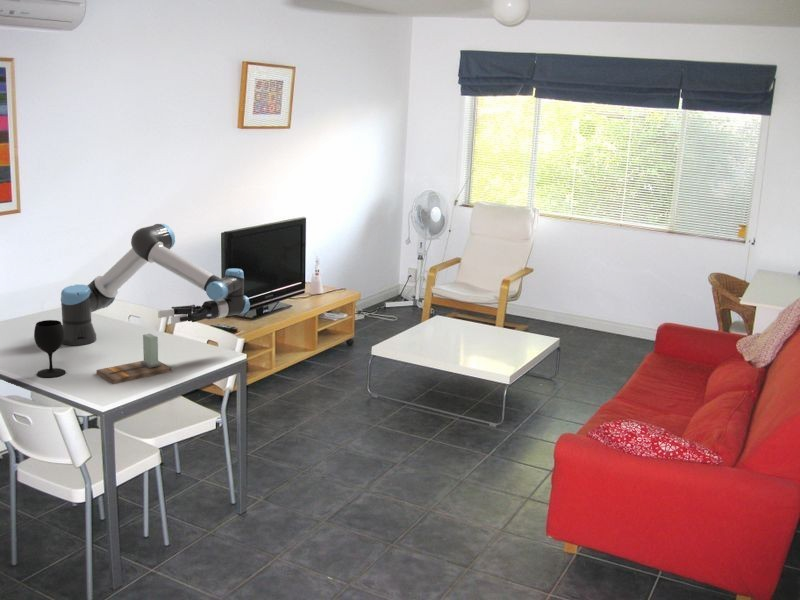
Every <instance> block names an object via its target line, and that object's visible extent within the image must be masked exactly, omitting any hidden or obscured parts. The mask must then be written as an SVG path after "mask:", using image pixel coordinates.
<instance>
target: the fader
mask: <svg viewBox="0 0 800 600" xmlns="http://www.w3.org/2000/svg"><path fill="white" fill-rule="evenodd" d="M158 340H159V339H158V336H156V335H154V334H151V333H147V334H145V333H144V334H142V346H143V347H142V349H143V350H142V351H143V360H140V361H141V364H143V365H145V366H147V367H149V368H152V367H157V366H161V363H159V362H158V361H159V342H158Z"/></svg>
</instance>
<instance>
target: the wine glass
mask: <svg viewBox="0 0 800 600" xmlns="http://www.w3.org/2000/svg"><path fill="white" fill-rule="evenodd" d="M33 331H34V332H33V333H34V334H33V337H34V338H33V339H34V342H35V344H36V346H37V347H38V348H39V349H40V350H41V351H43V352H44V353H45V354H47V355H48V361H49V364H48V365H49V368H44V369H42V370H41V369H40V370H39V371H37V373H36V376H37V377H38V378H42V379H52V378H53V379H55V378H59V377H62V376H64V375H65V374H66V373H67V371H66V370H65V369H64V368H57V367H54V366H53V354H54V353H55V352H56V351H58V350H59V348H61V346H62V345H63V344H62V343H63V340H64V330H63V327H62V322H61V321H60V320H58V319H57V320H55V319H47V320H41V321H40V320H39V321H38V322H36V323H35V325H34V330H33Z"/></svg>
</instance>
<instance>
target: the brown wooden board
mask: <svg viewBox="0 0 800 600" xmlns="http://www.w3.org/2000/svg"><path fill="white" fill-rule="evenodd" d="M141 361H142V360H139V361H136V362H135V361H134V362H129V363H124V364H120V365H115V366H114V365H113V366H108V367H105V368H99V369H96V374H97V375H98V376H99V377H102V378H103V379H105V380H106V381H108V382H110V383H111V384H113V385H115V384H118V383H123V382H128V381H133V380H139V379H141V378H142V379H143V378H146V377H153V376H156V375H161V374H165V373H169V372H172V370H173V369H172V367H171V366H170V365H167V364H165V363H164V362H161V361H159V360H158V362H159V363H161V366H157V367H152V368H149V367H147V366H145V365H143V364H141Z"/></svg>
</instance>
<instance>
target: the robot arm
mask: <svg viewBox="0 0 800 600" xmlns="http://www.w3.org/2000/svg"><path fill="white" fill-rule="evenodd" d="M130 240H131V241H130V245H131V249H130V250H128V251H127V252H126V253H125V254H124V255H123V256H122V257H121V258H120V259H119V260H118V261H117V262H116V263H115V264H114V265H113V266H112V267H111V268H109V270H107V271H106V272H105V273H104V275H98V276H96V277H95V278H94V279H93V280H92V281H91V282H90V283H88V284H73V285H68V286H66V287H64V288H63V289H62V290H61V293H60V294H61V295H60V302H61V304H60V306H61V320H62V322H61V324H62V327H63V330H64V340H63V343H62V345H64V346H65V345H66V346H83V345H89V344H92V343H95V342H96V341H97V333H96V331H95V328H94V325H93V323H92V313H94V312H97V311H99V310H102V309H105V308H108V307H110V305H112V304H113V303H114V301H115V300H116V297H117V295H118V293H119V292H118V290H119V289H120V288H121V287H122V286H123V285H125V283H126V282H128V281H129V279H131V278H132V277H133V276H134V275H135V274H136V273H137V272H138V271H139V270H140V269H142V268H143V266H145V265H146V264H147V263H149V264H152V263H155V264H157V265H159V266H160V267H162V268H163V269H166V270H167V271H169V272H171V273H172V274H174V275H176V276H178V277H180V278H181V279H183V280H184V281H187V282H189V283H190V284H192V285H194V286H196V287H197V288H199V289H201V290H203V291H204V292H206V293H205V294H206V295H207V297H208V298H209V299H210V300H206V301H204V302H203V303H202V305H196V304H191V305H183V306H181V305H180V306H172V307H171V308H169V309H163V310H158V311H157V312H158V313H157V315H158V319H162V318H163V319H164V318H167V317H170V319H171V320H170V321H171V322H170V323H171V324H172V325H173V324H179V323H185V322H191V323H195V322H199V321H202V320H214V319H218V318H219V319H222V318H224V317H231V316H236V315H238V316H239V315H242V314H245V313H247V312H249V310H250V307H251V303H250V300H249V299H250V298H249V297H248V296H247V295H244V294H245V290H244V289H245V286H244V285H245V281H244V280H245V275H244V274H245V273H244V271H243V269H242V268H227V269H226V270H225V272H224V273H225V274H224V276H223V277H221V278H220V277H218V276H217V275H215V274H213V273H212V272H209V271H208V270H206V269H205V268H203V267H202V266H199V265H197V264H196V263H194V262H192V261H191V260H188V259H187V258H185V257H183V256H181V255H180V254H178V253H176V252H175V251H173V250H171V249H172V248H173V247H174V245H175V243H176V236H175V232H174V231H173V229H172V227H170V226H169V225H167V224H165V223H155V224H153V225H149V226H146V227H145V226H144V227H141V228H139V229H137V230H135V232H134V233H133V234H132V236H131V239H130Z"/></svg>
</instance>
